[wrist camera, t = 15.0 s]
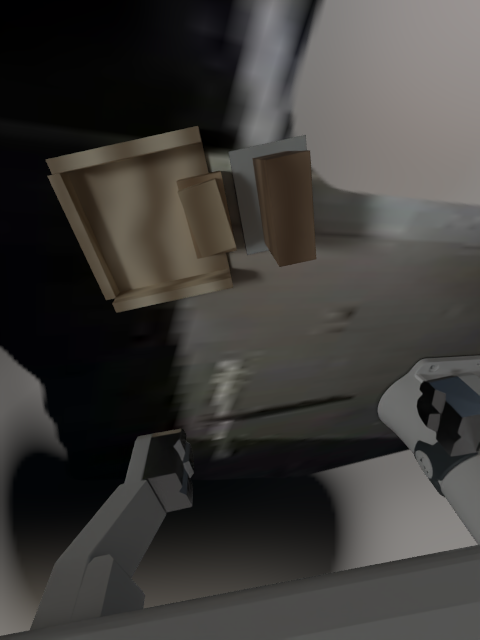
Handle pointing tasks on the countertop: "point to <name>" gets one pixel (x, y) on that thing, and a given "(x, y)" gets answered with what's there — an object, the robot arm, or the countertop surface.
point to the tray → (138, 218)
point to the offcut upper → (207, 217)
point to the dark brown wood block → (286, 205)
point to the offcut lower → (218, 177)
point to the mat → (248, 189)
